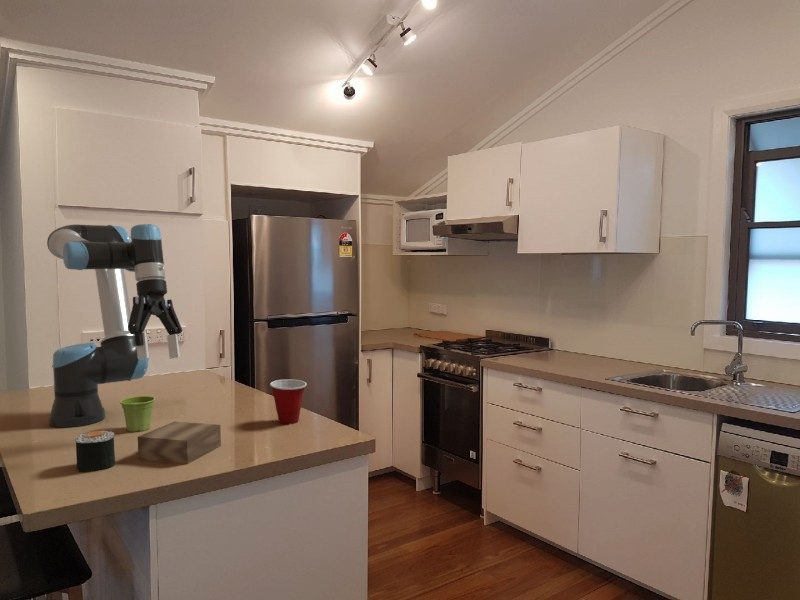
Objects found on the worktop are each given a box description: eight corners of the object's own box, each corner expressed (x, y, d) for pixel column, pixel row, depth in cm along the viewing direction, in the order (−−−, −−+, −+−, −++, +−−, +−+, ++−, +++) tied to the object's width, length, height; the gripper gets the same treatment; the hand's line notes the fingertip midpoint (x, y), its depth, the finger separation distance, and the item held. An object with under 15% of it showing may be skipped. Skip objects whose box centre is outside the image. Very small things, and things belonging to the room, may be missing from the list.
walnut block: (138, 460, 142) (137, 436, 141) (175, 443, 155) (174, 421, 155) (187, 465, 138) (187, 440, 137) (221, 447, 151) (220, 424, 151)
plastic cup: (290, 428, 166) (289, 387, 166) (263, 423, 172) (262, 383, 171) (315, 419, 175) (314, 380, 175) (288, 415, 181) (287, 377, 180)
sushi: (78, 463, 139) (76, 430, 139) (116, 458, 142) (115, 426, 142) (73, 474, 132) (72, 440, 131) (114, 468, 135) (113, 435, 135)
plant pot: (163, 426, 171) (162, 397, 170) (139, 435, 162) (138, 404, 161) (138, 423, 174) (137, 395, 173) (113, 432, 165) (112, 402, 164)
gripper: (132, 272, 144) (141, 356, 142) (189, 283, 169) (197, 355, 166) (106, 278, 146) (115, 361, 143) (166, 288, 170) (174, 359, 168)
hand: (159, 358), depth 155 cm, fingers open, 13 cm apart
